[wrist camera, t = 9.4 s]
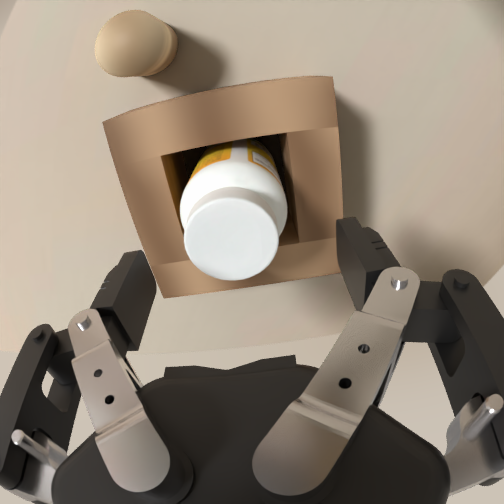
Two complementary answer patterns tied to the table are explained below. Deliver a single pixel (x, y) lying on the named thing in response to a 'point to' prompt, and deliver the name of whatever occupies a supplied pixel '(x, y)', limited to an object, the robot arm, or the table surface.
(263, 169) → the supplement bottle
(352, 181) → the table surface
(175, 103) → the square wooden frame
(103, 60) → the short dowel
